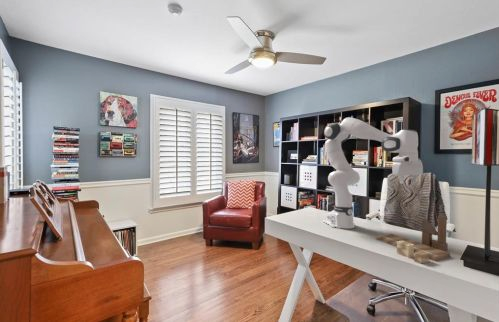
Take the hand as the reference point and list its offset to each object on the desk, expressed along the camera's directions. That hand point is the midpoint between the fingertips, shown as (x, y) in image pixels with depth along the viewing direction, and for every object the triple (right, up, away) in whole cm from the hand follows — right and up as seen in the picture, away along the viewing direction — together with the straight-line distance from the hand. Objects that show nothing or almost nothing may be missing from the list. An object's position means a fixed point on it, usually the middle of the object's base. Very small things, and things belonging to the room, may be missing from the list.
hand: (407, 183), depth 136 cm
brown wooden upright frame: (+12, -35, -4) cm, 37 cm away
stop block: (-7, -35, -21) cm, 41 cm away
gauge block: (-10, -35, -14) cm, 39 cm away
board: (-1, -34, -4) cm, 34 cm away
